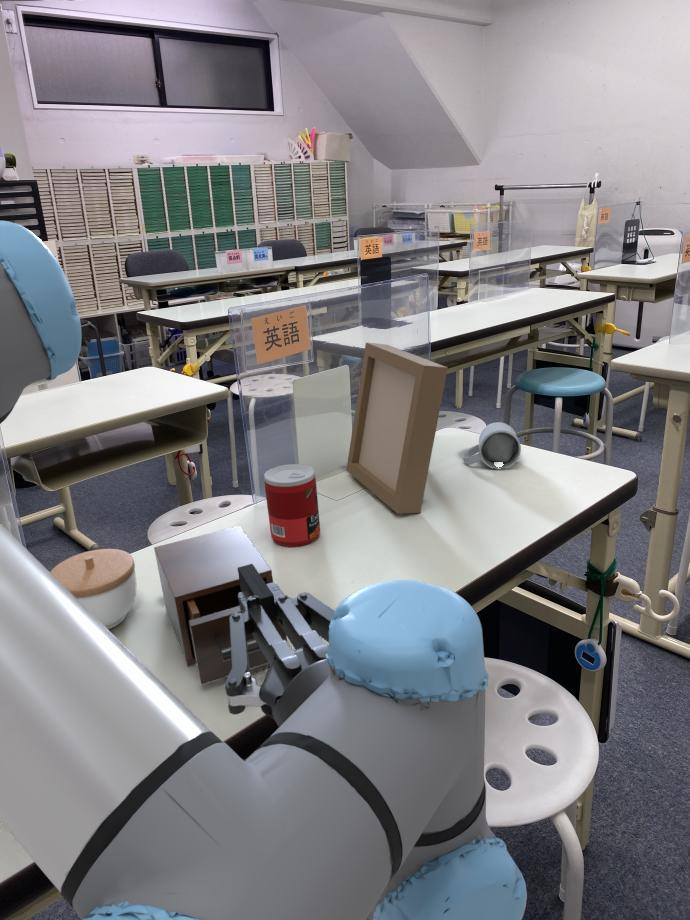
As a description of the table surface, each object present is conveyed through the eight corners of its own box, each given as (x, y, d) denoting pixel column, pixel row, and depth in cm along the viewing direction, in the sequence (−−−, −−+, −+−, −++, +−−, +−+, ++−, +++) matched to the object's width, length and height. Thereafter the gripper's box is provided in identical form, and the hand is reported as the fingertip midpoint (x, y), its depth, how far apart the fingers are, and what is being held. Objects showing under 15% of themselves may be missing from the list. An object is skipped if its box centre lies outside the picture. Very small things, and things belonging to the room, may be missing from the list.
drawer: (300, 675, 77) (294, 616, 74) (209, 706, 73) (199, 646, 70) (257, 603, 91) (250, 552, 88) (178, 627, 87) (168, 573, 84)
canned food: (320, 545, 106) (314, 480, 102) (269, 549, 106) (261, 484, 102) (321, 523, 113) (315, 461, 109) (273, 526, 113) (265, 465, 109)
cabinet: (280, 637, 85) (271, 570, 81) (187, 666, 81) (174, 597, 77) (248, 586, 97) (240, 525, 93) (166, 609, 92) (153, 547, 89)
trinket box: (73, 654, 84) (56, 589, 81) (50, 617, 93) (34, 556, 89) (156, 620, 90) (143, 558, 87) (127, 588, 98) (115, 529, 95)
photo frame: (397, 518, 113) (391, 371, 104) (346, 475, 132) (337, 346, 123) (474, 499, 118) (474, 356, 109) (414, 459, 137) (410, 335, 128)
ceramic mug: (515, 453, 136) (515, 416, 133) (521, 469, 128) (521, 430, 126) (461, 455, 137) (460, 419, 135) (463, 471, 130) (462, 433, 127)
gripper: (260, 812, 46) (186, 629, 66) (430, 742, 50) (311, 591, 71) (246, 723, 43) (173, 561, 63) (426, 658, 48) (304, 526, 68)
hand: (246, 577), depth 67 cm, fingers closed
